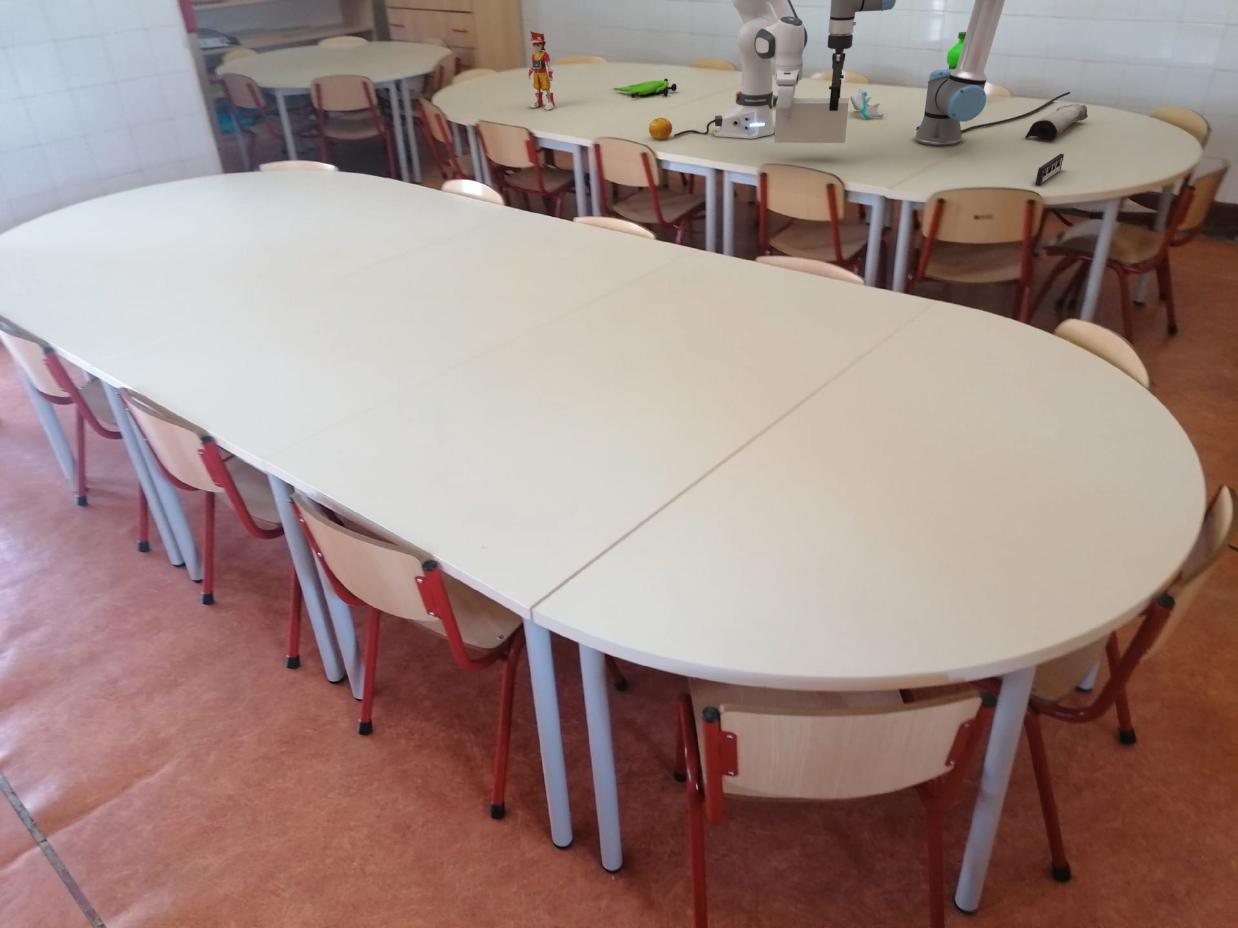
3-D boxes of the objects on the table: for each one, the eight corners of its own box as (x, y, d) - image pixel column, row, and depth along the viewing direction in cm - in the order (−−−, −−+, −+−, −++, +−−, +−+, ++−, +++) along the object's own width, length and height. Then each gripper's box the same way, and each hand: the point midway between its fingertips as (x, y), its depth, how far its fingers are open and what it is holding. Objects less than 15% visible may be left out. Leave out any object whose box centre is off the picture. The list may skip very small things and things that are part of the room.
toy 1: (525, 109, 381) (517, 32, 364) (534, 104, 388) (527, 28, 371) (550, 110, 377) (543, 32, 360) (559, 105, 384) (553, 28, 367)
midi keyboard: (1039, 185, 269) (1043, 168, 266) (1035, 184, 270) (1038, 168, 267) (1060, 170, 279) (1064, 154, 277) (1056, 169, 280) (1060, 153, 277)
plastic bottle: (973, 101, 354) (984, 32, 339) (955, 106, 349) (966, 36, 335) (952, 97, 361) (962, 29, 346) (934, 102, 356) (944, 33, 342)
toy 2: (686, 85, 398) (631, 84, 414) (685, 72, 395) (629, 72, 411) (651, 104, 381) (596, 103, 397) (650, 92, 378) (594, 91, 394)
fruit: (641, 130, 330) (653, 111, 327) (649, 133, 338) (660, 114, 335) (659, 143, 329) (671, 123, 326) (666, 146, 337) (678, 126, 334)
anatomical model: (845, 88, 347) (871, 81, 346) (848, 115, 353) (873, 108, 352) (857, 97, 335) (883, 90, 334) (859, 125, 341) (885, 118, 340)
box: (774, 142, 299) (776, 103, 292) (776, 137, 304) (777, 98, 297) (844, 143, 294) (848, 103, 287) (845, 137, 299) (848, 98, 292)
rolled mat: (1054, 109, 326) (1079, 92, 318) (1068, 130, 327) (1093, 113, 318) (1021, 132, 309) (1046, 114, 301) (1035, 154, 309) (1061, 137, 301)
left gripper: (781, 66, 298) (779, 110, 305) (775, 80, 281) (773, 126, 289) (800, 66, 296) (798, 110, 304) (795, 80, 280) (793, 126, 288)
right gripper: (851, 41, 268) (844, 115, 280) (854, 27, 288) (847, 96, 300) (826, 41, 270) (820, 115, 282) (830, 27, 289) (824, 96, 301)
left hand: (786, 118), depth 297 cm, fingers closed on box, 6 cm apart
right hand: (834, 105), depth 291 cm, fingers open, 13 cm apart
